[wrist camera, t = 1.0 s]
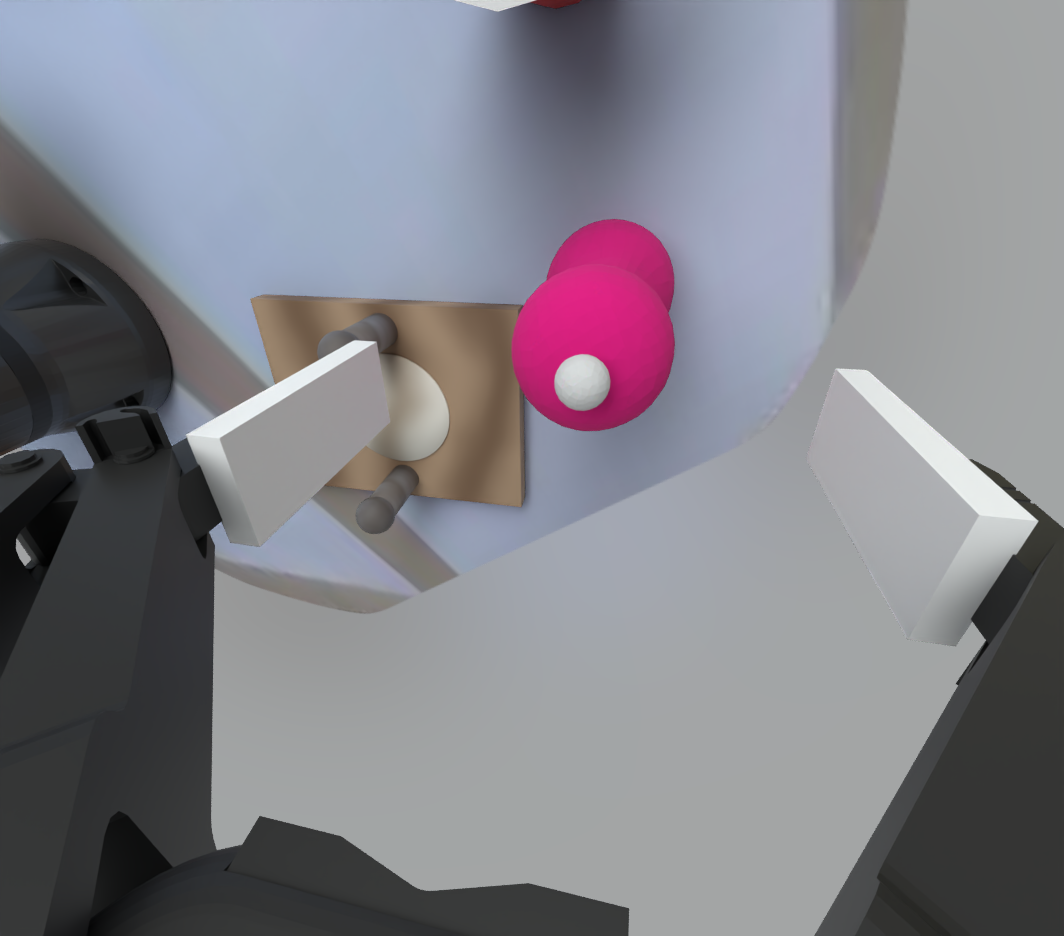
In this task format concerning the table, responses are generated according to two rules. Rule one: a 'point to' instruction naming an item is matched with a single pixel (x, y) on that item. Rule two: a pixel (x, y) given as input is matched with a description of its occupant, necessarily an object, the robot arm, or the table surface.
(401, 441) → the holder
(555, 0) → the plastic cup
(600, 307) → the pepper mill
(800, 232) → the table surface
